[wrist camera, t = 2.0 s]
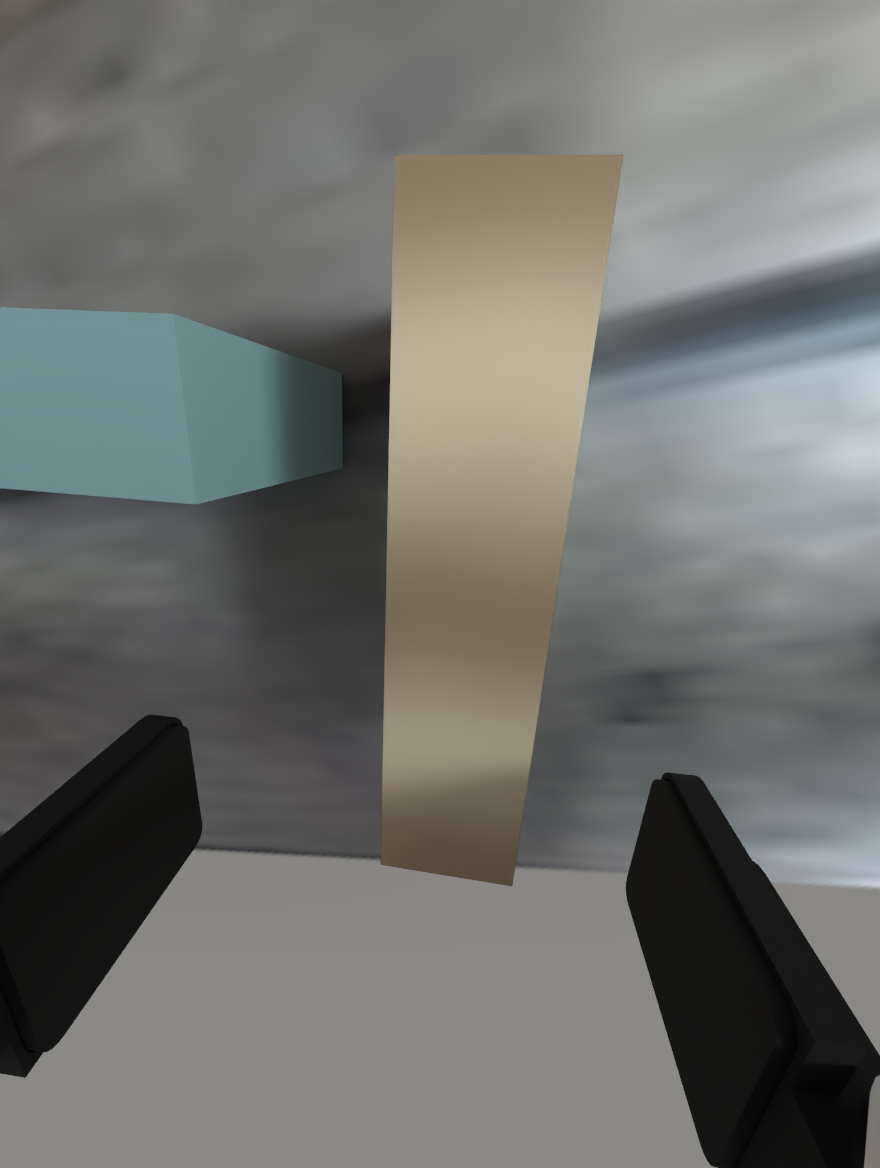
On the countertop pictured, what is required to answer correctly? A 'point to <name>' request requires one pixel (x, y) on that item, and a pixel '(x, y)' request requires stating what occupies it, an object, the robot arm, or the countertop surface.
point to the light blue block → (157, 408)
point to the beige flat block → (481, 483)
